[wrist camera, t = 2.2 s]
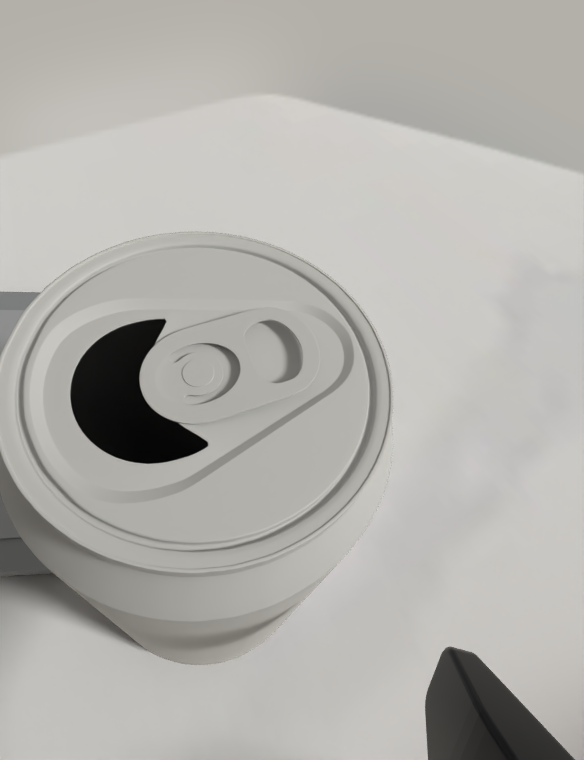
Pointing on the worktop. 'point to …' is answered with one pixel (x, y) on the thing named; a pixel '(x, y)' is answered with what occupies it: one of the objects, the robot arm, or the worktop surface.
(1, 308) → the coaster
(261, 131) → the worktop surface
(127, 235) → the worktop surface
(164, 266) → the beverage can
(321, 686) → the worktop surface
